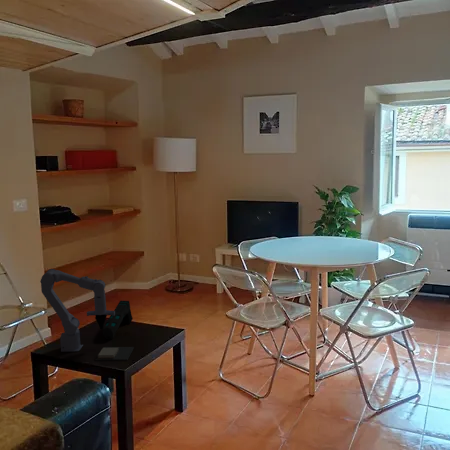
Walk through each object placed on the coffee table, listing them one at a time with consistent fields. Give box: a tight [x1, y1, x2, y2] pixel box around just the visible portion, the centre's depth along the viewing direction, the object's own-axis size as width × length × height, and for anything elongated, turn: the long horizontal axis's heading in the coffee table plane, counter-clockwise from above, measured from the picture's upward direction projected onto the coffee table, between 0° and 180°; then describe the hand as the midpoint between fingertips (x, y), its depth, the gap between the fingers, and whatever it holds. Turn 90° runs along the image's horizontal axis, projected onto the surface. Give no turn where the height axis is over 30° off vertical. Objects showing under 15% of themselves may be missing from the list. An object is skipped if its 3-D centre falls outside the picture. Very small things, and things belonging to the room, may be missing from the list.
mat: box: [95, 346, 135, 362], centre depth 245 cm, size 16×15×1 cm
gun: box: [102, 300, 133, 340], centre depth 278 cm, size 7×29×15 cm, turn 170°
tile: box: [97, 347, 119, 358], centre depth 244 cm, size 8×2×9 cm
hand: (101, 328), depth 253 cm, fingers closed
